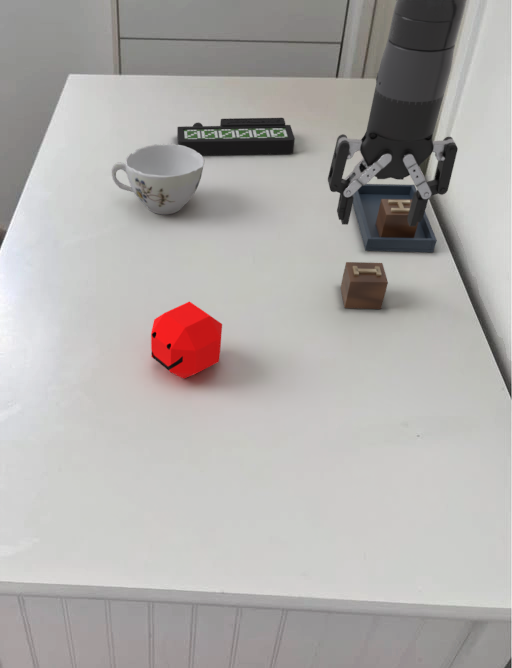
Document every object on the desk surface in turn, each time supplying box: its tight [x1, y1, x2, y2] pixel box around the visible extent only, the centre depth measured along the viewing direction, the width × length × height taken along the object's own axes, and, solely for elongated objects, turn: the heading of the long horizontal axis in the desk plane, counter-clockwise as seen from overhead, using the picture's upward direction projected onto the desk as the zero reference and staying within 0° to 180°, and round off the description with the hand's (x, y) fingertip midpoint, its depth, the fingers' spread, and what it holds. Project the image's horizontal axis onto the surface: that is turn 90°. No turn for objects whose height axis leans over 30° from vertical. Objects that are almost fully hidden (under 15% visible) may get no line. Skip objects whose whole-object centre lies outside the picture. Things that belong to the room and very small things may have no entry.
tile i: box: [340, 261, 389, 310], centre depth 99 cm, size 5×5×4 cm
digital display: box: [176, 117, 296, 157], centre depth 135 cm, size 21×3×10 cm
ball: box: [150, 301, 223, 380], centre depth 88 cm, size 8×8×8 cm
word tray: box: [352, 183, 437, 253], centre depth 114 cm, size 10×18×2 cm, turn 176°
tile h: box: [376, 199, 418, 238], centre depth 110 cm, size 5×5×4 cm
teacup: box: [111, 143, 205, 216], centre depth 117 cm, size 15×12×8 cm
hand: (377, 222), depth 92 cm, fingers open, 8 cm apart
